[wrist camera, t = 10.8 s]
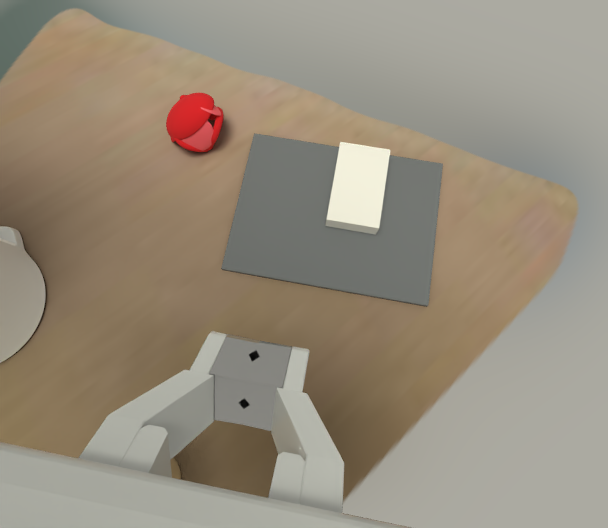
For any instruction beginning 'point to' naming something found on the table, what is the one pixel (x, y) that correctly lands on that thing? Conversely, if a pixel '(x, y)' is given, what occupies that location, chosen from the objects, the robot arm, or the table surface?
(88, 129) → the table surface
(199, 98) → the red rounded piece
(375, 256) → the mat
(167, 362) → the table surface
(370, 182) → the tile
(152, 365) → the table surface
